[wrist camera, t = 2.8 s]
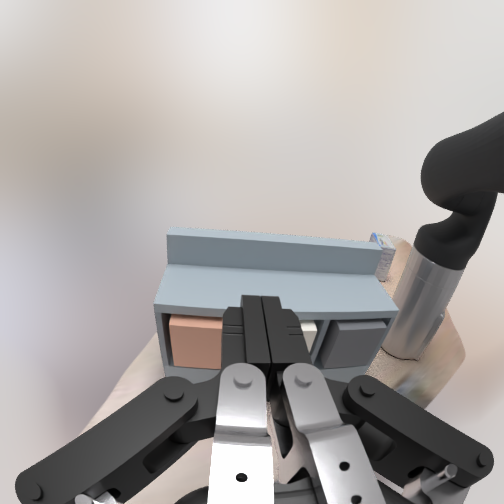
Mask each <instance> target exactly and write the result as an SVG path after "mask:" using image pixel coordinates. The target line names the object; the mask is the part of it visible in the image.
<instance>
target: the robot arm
mask: <svg viewBox="0 0 504 504" xmlns="http://www.w3.org/2000/svg"><path fill="white" fill-rule="evenodd" d="M421 184H422V188H423V191H424V193H425V195H426V196H427V197H428V199H429V200H430V201H432V202H433V203H434V204H436V205H438V206H440V207H442V208H444V209H447V210H450V211H453V213H452V215H451V216H450V217H449V218H447V219H445V220H444V221H441V222H438V223H433V224H426V225H424V226H422V227H421V228H420V229H419V230H418V233H417V235H416V238H415V241H414V244H413V247H412V250H411V253H410V255H409V258H408V261H407V263H406V266H405V269H404V271H403V274H402V276H401V279H400V281H399V284H398V286H397V288H396V291H395V293H394V295H393V298H392V300H393V302H394V303H395V305H396V306H397V307H398V309H399V312H398V314H397V316H396V318H395V320H394V322H393V324H392V326H391V328H390V330H389V332H388V334H387V336H386V338H385V340H384V342H383V343H382V345H381V347H382V348H383V349H384V350H385V351H386V352H388V353H389V354H391V355H393V356H395V357H397V358H401V359H415V360H419V358H420V357H421V355H422V354H423V352H424V351H425V349H426V348H427V346H428V345H429V343H430V341H431V340H432V338H433V336H434V335H435V333H436V331H437V330H438V328H439V326H440V325H441V323H442V321H443V319H444V317H445V309H446V307H447V305H448V303H449V301H450V299H451V297H452V295H453V293H454V291H455V289H456V287H457V285H458V283H459V280H460V278H461V276H462V274H463V272H464V269H465V267H466V265H467V263H468V261H469V259H470V258H471V257H472V256H473V254H475V252H476V250H477V249H478V247H479V245H480V242H481V240H482V238H483V235H484V233H485V230H486V228H487V225H488V223H489V220H490V218H491V215H492V212H493V209H494V206H495V203H496V199H497V194H498V193H504V112H502V113H501V114H499V115H497V116H495V117H493V118H491V119H490V120H488V121H486V122H484V123H482V124H480V125H478V126H476V127H474V128H472V129H469V130H467V131H465V132H462V133H459V134H456V135H454V136H451V137H448V138H446V139H444V140H442V141H440V142H438V143H437V144H436V145H435V146H434V147H433V148H432V149H431V150H430V151H429V153H428V154H427V156H426V158H425V160H424V163H423V166H422V170H421ZM269 401H270V404H271V412H270V415H269V421H270V426H271V430H272V434H273V439H274V443H275V448H276V452H277V456H278V462H279V466H278V477H279V483H273V469H272V444H271V437H270V435H268V432H267V408H266V402H269ZM211 437H214V441H213V451H212V462H211V473H210V484H209V486H206V487H203V488H199V489H197V490H195V491H192V492H190V493H188V494H187V495H185V496H183V497H182V498H181V499H179V500H178V501H177V502H176V503H175V504H463V502H464V500H465V498H466V496H467V494H468V491H469V489H470V486H471V485H473V484H474V483H476V482H478V481H479V480H481V479H482V478H484V477H486V476H487V475H488V474H489V473H490V472H491V471H492V468H493V465H494V458H493V454H492V452H491V451H490V449H489V448H488V447H486V446H485V445H483V444H481V443H479V442H477V441H476V440H474V439H472V438H471V437H469V436H467V435H465V434H464V433H462V432H460V431H459V430H457V429H455V428H454V427H452V426H450V425H448V424H447V423H445V422H444V421H442V420H440V419H439V418H437V417H435V416H434V415H432V414H431V413H429V412H427V411H426V410H424V409H422V408H421V407H419V406H418V405H416V404H415V403H413V402H411V401H410V400H408V399H407V398H405V397H403V396H402V395H400V394H399V393H397V392H396V391H394V390H393V389H391V388H389V387H388V386H386V385H385V384H383V383H382V382H380V381H379V380H377V379H376V378H374V377H371V376H368V375H359V376H356V377H354V378H353V379H351V381H350V382H349V383H346V382H341V381H335V380H331V379H328V378H326V377H324V376H323V374H322V373H321V371H320V370H319V369H318V368H316V367H315V366H313V364H312V361H311V357H310V354H309V351H308V347H307V344H306V341H305V337H304V336H303V331H302V328H301V324H300V321H299V318H298V316H297V315H296V314H295V313H294V312H293V311H292V309H282V306H281V302H280V298H279V296H259V295H241V302H240V307H229V306H228V308H227V309H226V311H225V312H224V314H223V321H222V337H221V370H220V372H219V373H218V374H217V375H216V376H215V377H214V378H212V379H210V380H208V381H204V382H200V383H195V384H193V383H191V382H190V381H189V380H187V379H185V378H183V377H178V376H169V377H165V378H162V379H160V380H159V381H157V382H156V383H154V384H153V385H152V386H150V387H149V388H148V389H146V390H145V391H144V392H142V393H141V394H139V395H138V396H137V397H135V398H134V399H132V400H131V401H130V402H128V403H127V404H125V405H124V406H123V407H121V408H120V409H118V410H117V411H116V412H114V413H113V414H111V415H110V416H108V417H107V418H106V419H104V420H103V421H101V422H100V423H98V424H97V425H95V426H94V427H92V428H91V429H89V430H88V431H86V432H85V433H83V434H82V435H80V436H79V437H77V438H76V439H74V440H73V441H71V442H70V443H68V444H67V445H65V446H64V447H62V448H60V449H59V450H57V451H56V452H54V453H53V454H51V455H49V456H48V457H46V458H45V459H43V460H41V461H40V462H38V463H36V464H35V465H33V466H31V467H30V468H28V469H26V470H25V471H23V472H21V473H20V474H19V475H18V477H17V479H16V482H15V490H16V494H17V497H18V499H19V500H20V502H21V503H22V504H124V503H125V502H127V501H128V500H129V499H131V498H132V497H133V496H134V495H136V494H137V493H138V492H140V491H141V490H142V489H143V488H145V487H146V486H147V485H149V484H150V483H151V482H152V481H153V480H155V479H156V478H157V477H158V476H159V475H161V474H162V473H163V472H164V471H165V470H167V469H168V468H169V467H170V466H171V465H172V464H174V463H175V462H176V461H177V460H178V459H179V458H180V457H181V456H183V455H184V454H185V453H186V452H187V451H188V450H189V449H190V448H191V447H192V446H194V445H195V444H196V443H197V442H198V441H199V440H203V439H207V438H211ZM373 470H374V471H376V472H377V473H379V474H380V475H382V476H383V477H385V478H387V479H388V480H390V481H391V482H393V483H395V484H396V485H398V486H400V487H401V488H403V489H404V492H403V493H402V495H400V494H399V493H397V492H396V491H394V490H392V489H391V488H390V487H388V486H387V485H385V484H384V483H382V482H381V481H379V480H377V479H376V477H375V474H374V472H373Z"/></svg>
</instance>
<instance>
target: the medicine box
mask: <svg viewBox="0 0 504 504" xmlns="http://www.w3.org/2000/svg"><path fill="white" fill-rule="evenodd" d="M369 242H375V243H377V244H378V245H379V246H380V247H381V248H382V250H383V252H382V255H381V258H380V261H379V264H378V266H377V269H376V272H375V276H376V278H377V279H378V280H379V281H385V280H386V278H387V275H388V272H389V269H390V266H391V263H392V260H393V257H394V254H395V251H396V248H395V247H394V245H393V244H392V242H391V240H390V239H389V237H388V236H387V235H383V234H379V233H372V234H371V237H370V241H369Z"/></svg>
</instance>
